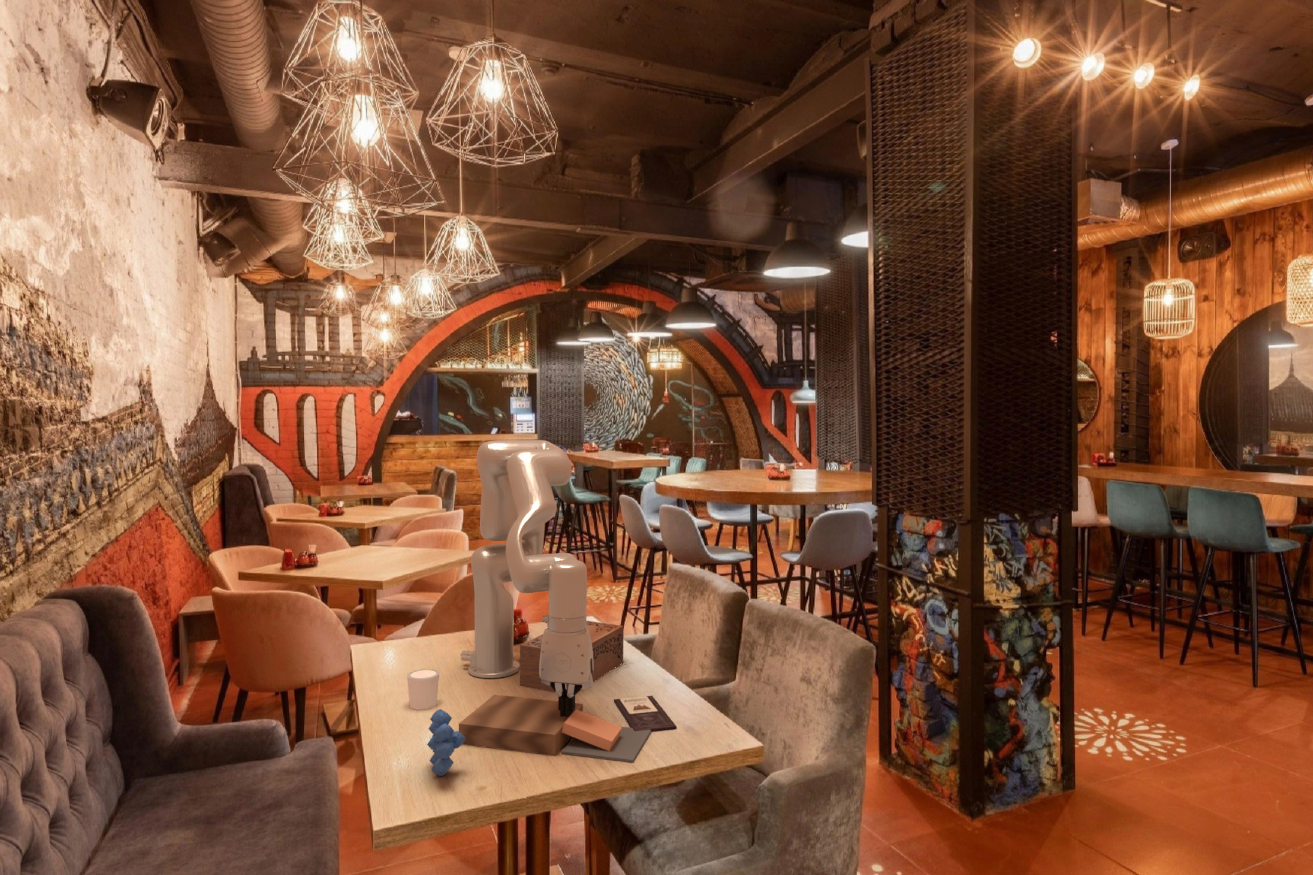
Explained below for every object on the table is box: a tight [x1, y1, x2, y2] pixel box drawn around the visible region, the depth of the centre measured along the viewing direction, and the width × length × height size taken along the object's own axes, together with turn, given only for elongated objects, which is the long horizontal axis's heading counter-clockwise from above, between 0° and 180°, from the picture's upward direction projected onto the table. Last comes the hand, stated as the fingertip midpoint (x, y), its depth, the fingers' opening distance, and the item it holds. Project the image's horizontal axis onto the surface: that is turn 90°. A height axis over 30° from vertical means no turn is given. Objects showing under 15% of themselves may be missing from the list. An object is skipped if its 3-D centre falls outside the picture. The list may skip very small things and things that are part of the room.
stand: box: [458, 694, 584, 756], centre depth 156 cm, size 20×16×4 cm
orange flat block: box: [562, 710, 623, 751], centre depth 151 cm, size 10×7×2 cm
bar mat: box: [561, 726, 652, 764], centre depth 152 cm, size 14×14×1 cm
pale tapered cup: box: [406, 668, 440, 711], centre depth 170 cm, size 7×7×7 cm
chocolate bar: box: [613, 695, 678, 733], centre depth 166 cm, size 9×1×18 cm
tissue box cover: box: [519, 620, 625, 694], centre depth 191 cm, size 26×14×10 cm, turn 156°
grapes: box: [426, 709, 466, 777], centre depth 138 cm, size 12×7×12 cm, turn 24°
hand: (566, 714), depth 154 cm, fingers closed
